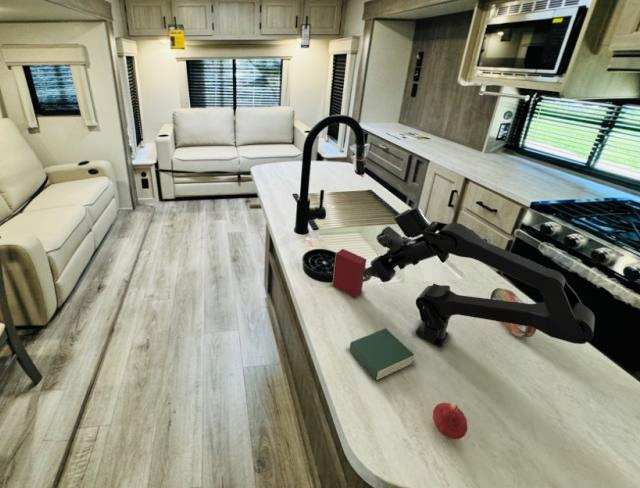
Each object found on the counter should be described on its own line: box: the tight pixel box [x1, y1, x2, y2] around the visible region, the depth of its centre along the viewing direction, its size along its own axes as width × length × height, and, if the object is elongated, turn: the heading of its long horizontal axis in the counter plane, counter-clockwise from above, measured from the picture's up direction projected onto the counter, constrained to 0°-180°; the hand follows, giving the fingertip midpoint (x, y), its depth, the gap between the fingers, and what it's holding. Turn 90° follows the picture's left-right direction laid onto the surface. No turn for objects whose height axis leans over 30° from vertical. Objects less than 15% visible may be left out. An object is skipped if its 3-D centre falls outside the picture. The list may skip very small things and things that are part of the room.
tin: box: [489, 287, 537, 338], centre depth 88 cm, size 15×3×8 cm, turn 171°
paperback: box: [332, 248, 367, 299], centre depth 102 cm, size 9×4×13 cm, turn 42°
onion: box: [432, 402, 469, 440], centre depth 62 cm, size 6×6×8 cm
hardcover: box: [349, 327, 415, 381], centre depth 79 cm, size 12×9×3 cm
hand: (371, 266), depth 95 cm, fingers open, 9 cm apart
